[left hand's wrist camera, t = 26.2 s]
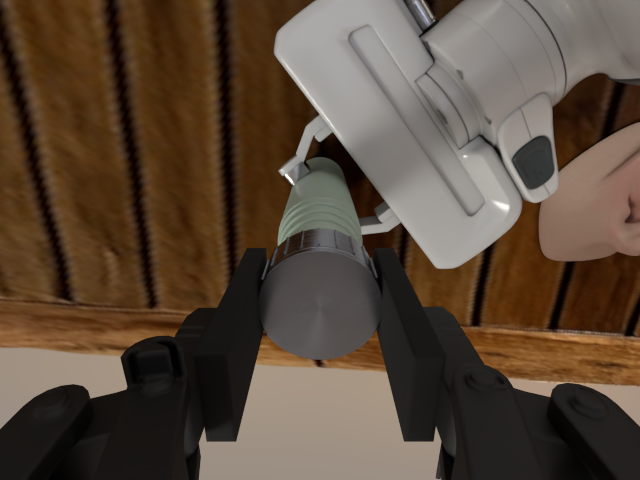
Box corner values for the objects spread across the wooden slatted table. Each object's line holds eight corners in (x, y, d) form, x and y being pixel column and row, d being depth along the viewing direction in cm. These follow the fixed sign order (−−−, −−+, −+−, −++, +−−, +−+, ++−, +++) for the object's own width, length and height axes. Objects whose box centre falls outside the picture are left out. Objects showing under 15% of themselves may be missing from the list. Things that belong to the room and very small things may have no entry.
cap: (268, 220, 14) (259, 241, 12) (385, 234, 14) (396, 257, 12) (261, 319, 15) (251, 354, 13) (365, 330, 16) (372, 366, 14)
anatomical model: (577, 299, 32) (542, 188, 29) (550, 278, 36) (516, 178, 33) (734, 234, 30) (718, 105, 27) (689, 219, 34) (669, 105, 30)
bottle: (345, 157, 32) (384, 242, 13) (343, 205, 34) (375, 347, 14) (295, 156, 32) (257, 240, 13) (295, 205, 34) (262, 346, 14)
